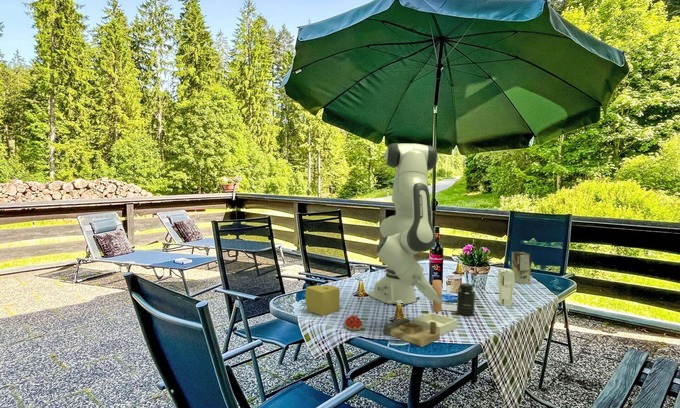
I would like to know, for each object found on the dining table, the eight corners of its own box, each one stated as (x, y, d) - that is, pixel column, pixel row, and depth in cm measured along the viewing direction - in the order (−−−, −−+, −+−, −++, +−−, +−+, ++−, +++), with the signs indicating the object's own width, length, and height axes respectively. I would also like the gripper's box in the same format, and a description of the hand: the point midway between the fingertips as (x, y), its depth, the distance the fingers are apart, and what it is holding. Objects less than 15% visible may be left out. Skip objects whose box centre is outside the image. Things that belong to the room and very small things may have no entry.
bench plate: (382, 333, 137) (382, 318, 137) (404, 325, 145) (404, 310, 145) (419, 347, 125) (420, 330, 125) (440, 338, 133) (441, 322, 133)
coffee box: (530, 283, 208) (531, 254, 208) (519, 284, 208) (520, 254, 207) (521, 279, 218) (521, 251, 217) (510, 280, 217) (511, 251, 216)
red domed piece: (359, 322, 149) (359, 313, 149) (365, 331, 139) (365, 322, 139) (342, 323, 148) (342, 314, 148) (347, 332, 138) (347, 323, 138)
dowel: (430, 310, 142) (430, 280, 142) (435, 308, 145) (435, 279, 144) (438, 312, 140) (438, 282, 140) (443, 310, 142) (443, 280, 142)
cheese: (323, 305, 169) (323, 282, 168) (340, 311, 161) (341, 287, 161) (304, 310, 162) (305, 287, 161) (322, 317, 154) (322, 292, 153)
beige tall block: (515, 307, 168) (516, 272, 167) (498, 305, 169) (499, 271, 169) (512, 302, 175) (512, 269, 174) (495, 301, 176) (496, 268, 176)
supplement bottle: (465, 317, 155) (466, 287, 154) (453, 312, 161) (453, 283, 160) (478, 314, 158) (478, 285, 157) (465, 309, 164) (466, 281, 163)
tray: (413, 327, 143) (413, 318, 143) (431, 320, 151) (431, 312, 151) (439, 335, 135) (439, 327, 135) (457, 328, 143) (457, 319, 142)
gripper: (422, 273, 132) (451, 302, 132) (414, 262, 152) (439, 287, 152) (409, 286, 132) (438, 315, 132) (402, 273, 153) (427, 298, 152)
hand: (438, 300), depth 142 cm, fingers closed on dowel, 3 cm apart
